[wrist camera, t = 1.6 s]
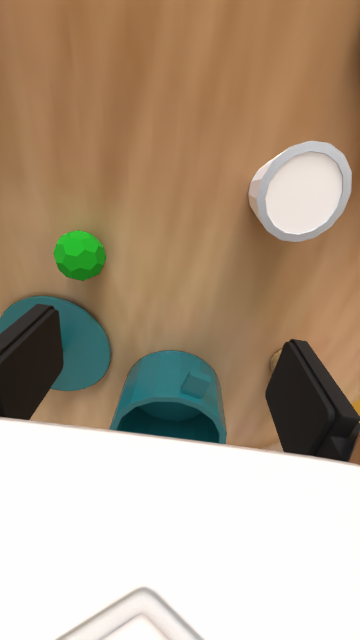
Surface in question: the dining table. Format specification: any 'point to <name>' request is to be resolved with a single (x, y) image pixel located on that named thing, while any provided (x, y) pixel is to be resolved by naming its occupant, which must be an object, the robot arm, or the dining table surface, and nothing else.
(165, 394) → the pot
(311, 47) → the dining table surface
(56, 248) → the polyhedron
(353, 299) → the dining table surface
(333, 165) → the white cup
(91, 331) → the lid
